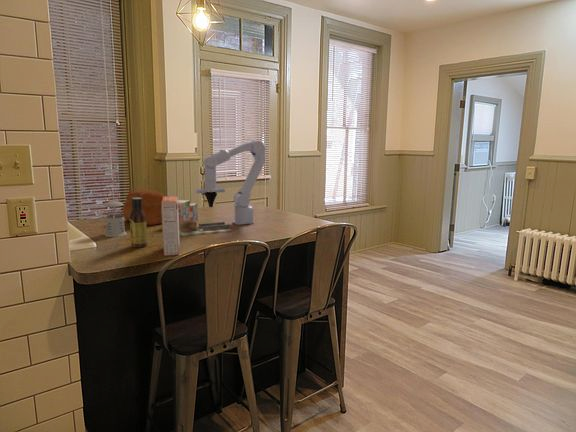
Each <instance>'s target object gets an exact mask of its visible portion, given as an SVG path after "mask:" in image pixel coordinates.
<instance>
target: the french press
mask: <svg viewBox="0 0 576 432" xmlns="http://www.w3.org/2000/svg"><path fill="white" fill-rule="evenodd" d="M109 182H110V183H112V186H114V183H115V182H116V181H115V179H110V181H109ZM112 198H113V199H112V200H111V201H110V200H109V201H108V202H106V203H104V205H103V206H104V207H108V208H110V212H107V213H105V215H106V216H104V220H105V233H104V234H103V236H104V235H105V236H104V237H109V238H113V237H114V238H116V237H123V236H126V235H128V233H127V232H126V230H125V218H124V215H123V211H116V208H119V207H122V206H123V207H124V204H125V203H123V202H120V201H118V200H117V201H116V200H115V195H114V192H112ZM112 210H113V211H112Z"/></svg>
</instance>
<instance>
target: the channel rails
mask: <svg viewBox="0 0 576 432" xmlns="http://www.w3.org/2000/svg"><path fill="white" fill-rule="evenodd" d="M198 227H199V228H203V231H210V230H221V229H230V223H228V224H227V223H225V221H217V222H208V223H207V222H205V223H198Z"/></svg>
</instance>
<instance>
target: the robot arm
mask: <svg viewBox="0 0 576 432" xmlns="http://www.w3.org/2000/svg"><path fill="white" fill-rule="evenodd" d="M243 152H244V153H245V152H249V153H251V155H252V157H253V159H254V161H253V164H252V165H251V168H250V169H249V172H248V174H247V176H246V178H245V180H244V182H243V184H242V186H241V188H239V189H238V191H237V193H235V194H234V196H233V202H234V203H235V204H234V220H233V221H231V223H233V224H235V225H237V226H238V225H250V224H251V225H252V224H255V222H254V208H253V207H252V206H251V205H249V204H250V199H251V196H252V190H253V187H254V185H255V184H256V182H257V179H258V177H259V176H260V173H261V172H262V169H263V167H264V165H265V163H266V145H265V143H264V142H262V141H261V140H251V141H247V142H244V143H242V144H239V145H237V146H236V147H233V148H231V149H229V150H226V149H220V150H219V151H218V152H216V153H212V154H211V155H208V156H206V157H205V158H204V159H203V162H202V163H203V166H204V188H197V189H195V194H198V195H199V194H204V196H205V198H206V200H207V204H208V207H209V208H214V204H215V203H214V202H215V199H216V197H217V196H218V193H225V192H226V188H224V187H220V188H218V187H217V170H216V169H217V166H219V165H221V164H224V163H226V162H228V161H230V160H231V157H234V156H236V155H239V154H240V153H243Z"/></svg>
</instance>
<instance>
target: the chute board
mask: <svg viewBox="0 0 576 432" xmlns="http://www.w3.org/2000/svg"><path fill="white" fill-rule="evenodd" d="M231 232H233V230H232V229H230V228H229V229H221V230H210V231H203V228H199V226H197V231H189V232H181V231H180V230H179V236H180V237H188V236H189V237H190V236H200V235H211V234H212V235H213V234H221V233H231Z"/></svg>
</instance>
